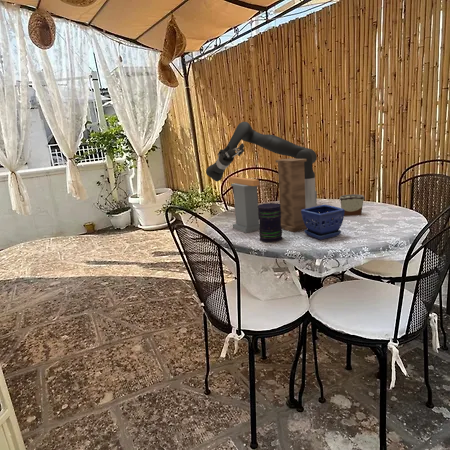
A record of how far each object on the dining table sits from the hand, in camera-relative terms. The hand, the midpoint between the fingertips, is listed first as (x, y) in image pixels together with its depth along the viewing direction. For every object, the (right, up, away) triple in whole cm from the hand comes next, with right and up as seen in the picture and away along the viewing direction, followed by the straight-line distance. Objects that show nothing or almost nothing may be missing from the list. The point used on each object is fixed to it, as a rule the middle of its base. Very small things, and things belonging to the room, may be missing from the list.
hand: (236, 145), depth 190 cm
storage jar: (+14, -48, -34) cm, 60 cm away
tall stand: (+26, -43, -20) cm, 54 cm away
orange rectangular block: (+3, -22, -19) cm, 29 cm away
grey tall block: (+5, -44, -14) cm, 46 cm away
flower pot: (+36, -47, -35) cm, 69 cm away
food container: (+59, -37, -5) cm, 69 cm away
